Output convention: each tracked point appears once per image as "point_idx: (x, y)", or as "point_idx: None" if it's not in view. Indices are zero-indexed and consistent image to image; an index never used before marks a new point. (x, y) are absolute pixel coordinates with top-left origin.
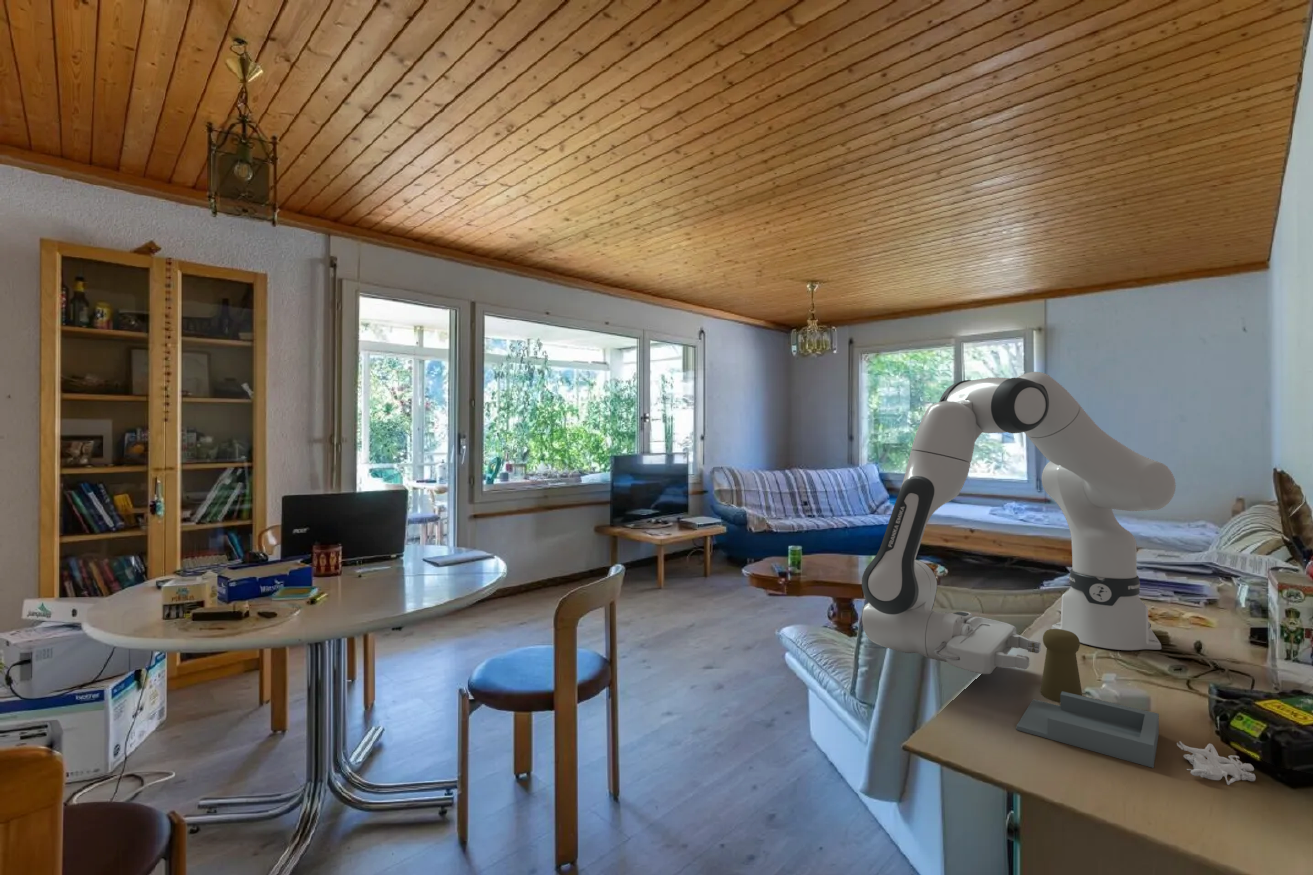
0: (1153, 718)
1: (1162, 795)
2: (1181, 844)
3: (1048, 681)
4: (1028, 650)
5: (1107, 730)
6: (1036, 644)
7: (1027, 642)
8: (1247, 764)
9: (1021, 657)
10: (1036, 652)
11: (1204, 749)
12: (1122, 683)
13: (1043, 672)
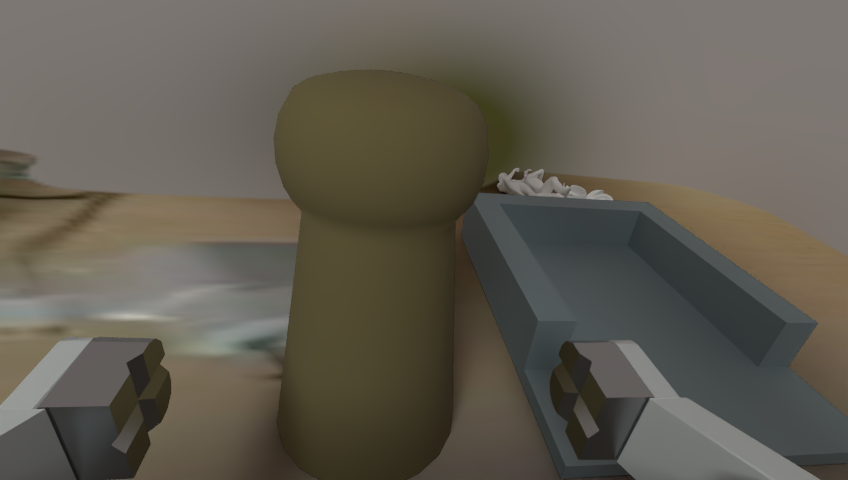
0: (508, 197)
1: (710, 238)
2: (802, 231)
3: (444, 381)
4: (132, 466)
5: (683, 239)
6: (153, 350)
7: (35, 442)
8: (506, 174)
9: (638, 364)
10: (161, 408)
11: (555, 177)
12: (80, 281)
13: (401, 387)
